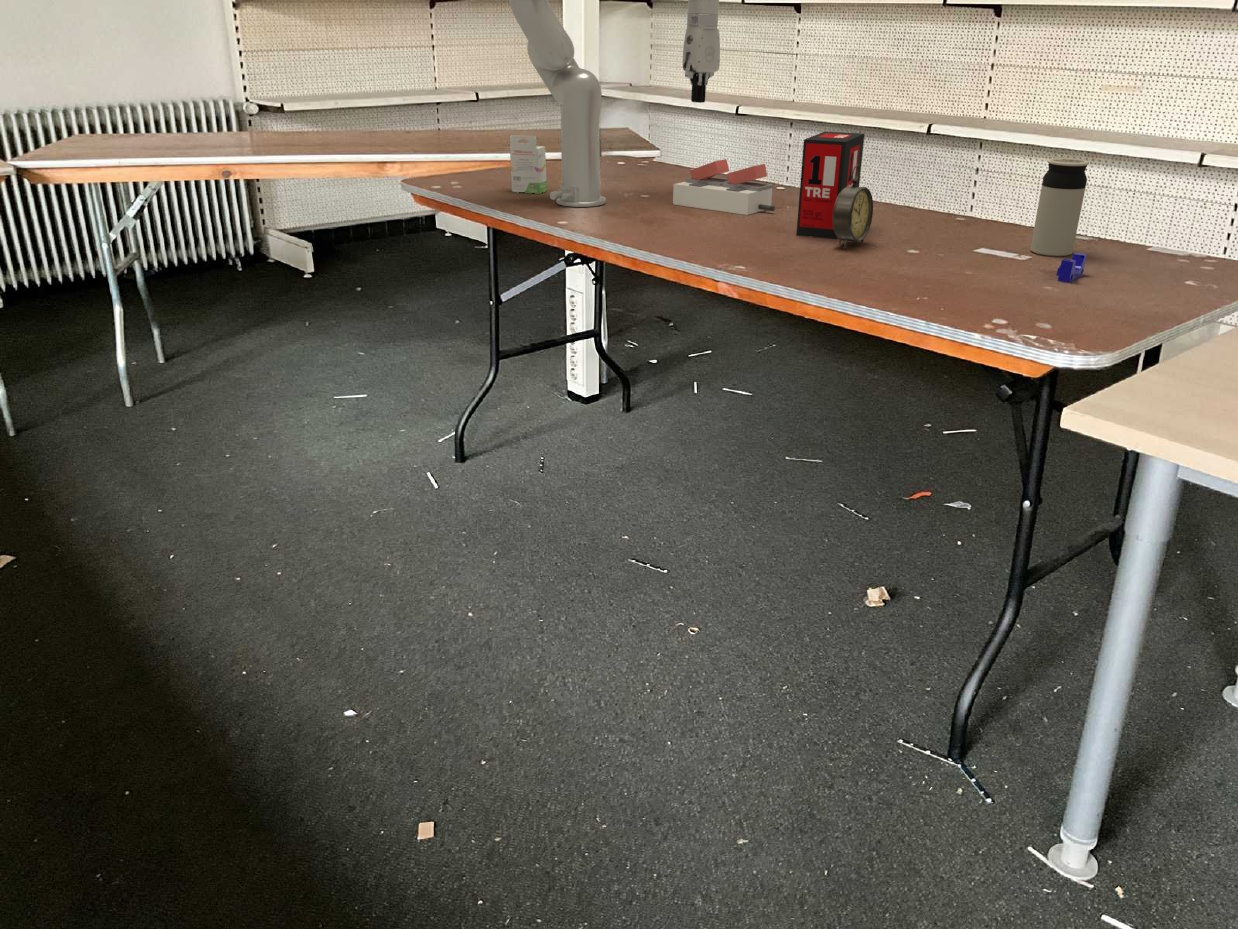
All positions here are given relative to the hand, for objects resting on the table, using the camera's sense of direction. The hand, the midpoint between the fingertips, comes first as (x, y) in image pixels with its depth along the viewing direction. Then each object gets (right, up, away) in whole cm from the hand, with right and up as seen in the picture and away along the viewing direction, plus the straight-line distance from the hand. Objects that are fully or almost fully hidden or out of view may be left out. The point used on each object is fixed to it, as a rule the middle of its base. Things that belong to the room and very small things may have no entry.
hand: (698, 101), depth 245 cm
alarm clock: (+28, -46, -42) cm, 68 cm away
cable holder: (+63, -57, -66) cm, 107 cm away
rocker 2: (+12, -22, -7) cm, 26 cm away
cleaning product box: (+26, -39, -28) cm, 55 cm away
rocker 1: (+3, -19, -1) cm, 19 cm away
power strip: (+7, -28, -3) cm, 29 cm away
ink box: (-44, -18, +17) cm, 51 cm away
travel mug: (+68, -49, -48) cm, 96 cm away
